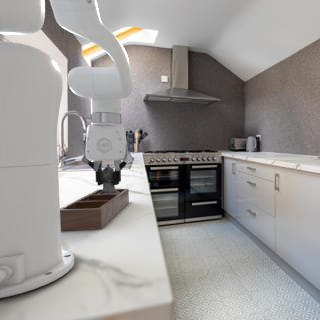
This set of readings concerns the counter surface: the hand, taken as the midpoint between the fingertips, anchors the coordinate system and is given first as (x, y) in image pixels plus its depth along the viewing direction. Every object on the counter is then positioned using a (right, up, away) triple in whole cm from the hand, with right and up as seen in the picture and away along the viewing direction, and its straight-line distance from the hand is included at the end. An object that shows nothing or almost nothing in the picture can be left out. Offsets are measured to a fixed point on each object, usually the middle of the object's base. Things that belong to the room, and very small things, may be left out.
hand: (108, 183), depth 75 cm
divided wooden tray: (+1, -7, -7) cm, 10 cm away
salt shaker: (0, -6, 0) cm, 6 cm away
